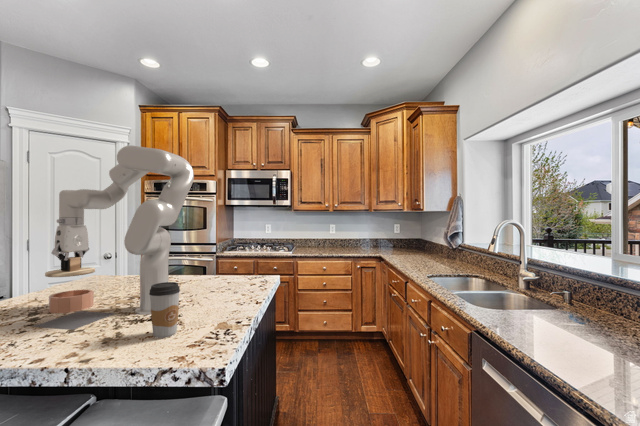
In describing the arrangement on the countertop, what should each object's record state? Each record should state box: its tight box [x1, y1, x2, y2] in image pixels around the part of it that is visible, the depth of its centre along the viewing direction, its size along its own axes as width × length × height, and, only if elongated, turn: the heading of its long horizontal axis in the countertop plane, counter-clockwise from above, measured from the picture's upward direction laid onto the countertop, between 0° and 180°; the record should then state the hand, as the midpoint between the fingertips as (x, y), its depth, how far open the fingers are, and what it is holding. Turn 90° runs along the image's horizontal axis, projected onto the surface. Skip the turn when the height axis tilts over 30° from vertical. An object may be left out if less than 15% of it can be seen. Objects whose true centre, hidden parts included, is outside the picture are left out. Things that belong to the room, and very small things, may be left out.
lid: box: [44, 256, 96, 278], centre depth 118 cm, size 15×15×6 cm
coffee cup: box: [149, 281, 181, 339], centre depth 93 cm, size 8×8×15 cm
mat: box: [31, 310, 117, 331], centre depth 105 cm, size 16×16×1 cm
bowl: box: [48, 289, 95, 314], centre depth 118 cm, size 13×13×6 cm
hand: (71, 269), depth 118 cm, fingers closed on lid, 4 cm apart
